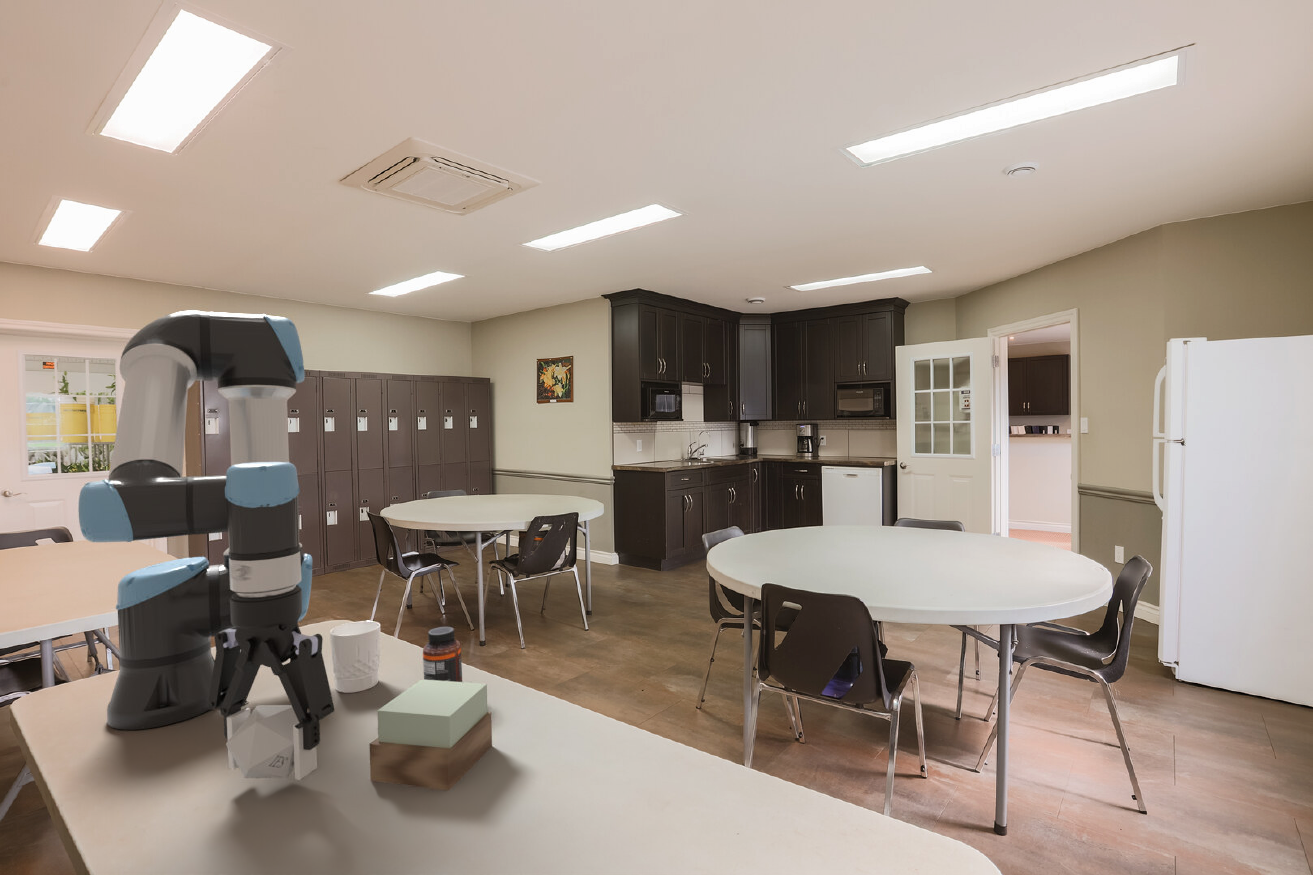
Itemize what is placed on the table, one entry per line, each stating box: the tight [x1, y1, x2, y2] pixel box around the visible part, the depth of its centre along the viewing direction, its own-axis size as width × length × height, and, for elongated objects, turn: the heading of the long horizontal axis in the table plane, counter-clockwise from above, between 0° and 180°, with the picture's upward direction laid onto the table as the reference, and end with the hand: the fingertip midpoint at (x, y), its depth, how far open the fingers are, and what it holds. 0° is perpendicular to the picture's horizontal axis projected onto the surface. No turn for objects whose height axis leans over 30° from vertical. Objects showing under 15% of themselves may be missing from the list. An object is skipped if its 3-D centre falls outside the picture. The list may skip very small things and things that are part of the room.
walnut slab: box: [369, 712, 493, 791], centre depth 85 cm, size 11×11×5 cm
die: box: [225, 704, 299, 779], centre depth 80 cm, size 8×9×10 cm
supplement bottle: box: [422, 626, 463, 682], centre depth 105 cm, size 6×6×11 cm
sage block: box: [377, 678, 489, 748], centre depth 86 cm, size 10×10×4 cm
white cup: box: [329, 620, 381, 694], centre depth 111 cm, size 8×8×10 cm
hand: (272, 768), depth 80 cm, fingers closed on die, 9 cm apart
